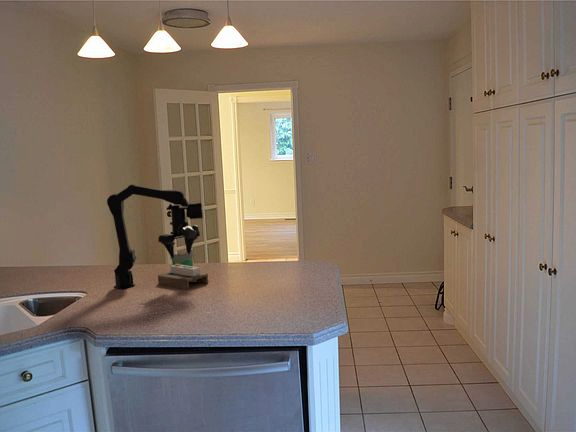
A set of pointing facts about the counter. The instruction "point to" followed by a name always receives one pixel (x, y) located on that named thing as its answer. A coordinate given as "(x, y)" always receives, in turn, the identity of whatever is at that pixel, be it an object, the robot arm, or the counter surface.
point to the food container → (183, 258)
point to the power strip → (185, 270)
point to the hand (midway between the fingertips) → (180, 255)
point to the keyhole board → (180, 279)
